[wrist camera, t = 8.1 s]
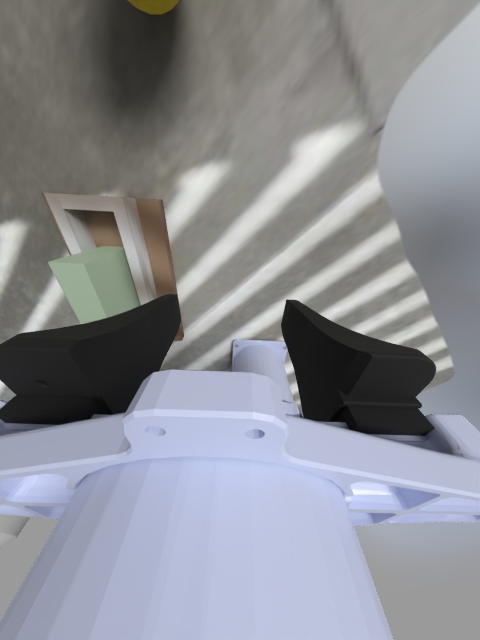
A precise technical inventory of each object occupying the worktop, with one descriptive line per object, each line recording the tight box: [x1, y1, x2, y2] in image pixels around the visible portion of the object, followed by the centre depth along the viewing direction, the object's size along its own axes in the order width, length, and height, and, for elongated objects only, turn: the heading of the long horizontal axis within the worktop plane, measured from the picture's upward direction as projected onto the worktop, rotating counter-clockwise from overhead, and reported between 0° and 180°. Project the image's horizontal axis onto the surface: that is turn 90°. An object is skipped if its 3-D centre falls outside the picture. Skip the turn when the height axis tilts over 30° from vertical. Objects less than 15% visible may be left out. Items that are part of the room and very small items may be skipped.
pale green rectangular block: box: [48, 246, 141, 324], centre depth 17 cm, size 8×2×6 cm, turn 177°
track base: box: [42, 193, 184, 340], centre depth 19 cm, size 16×10×3 cm, turn 177°
